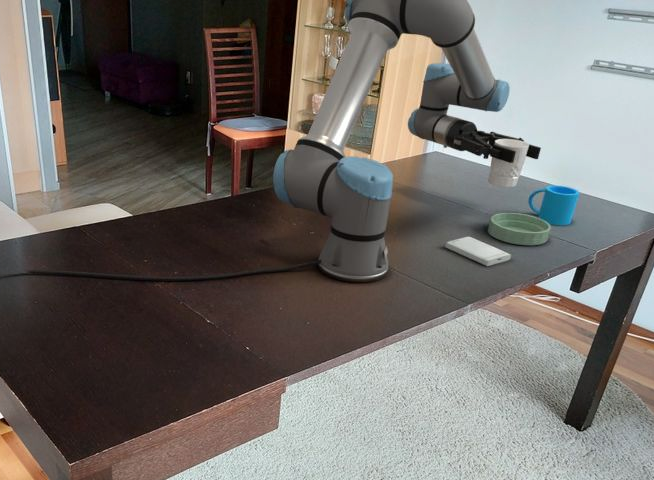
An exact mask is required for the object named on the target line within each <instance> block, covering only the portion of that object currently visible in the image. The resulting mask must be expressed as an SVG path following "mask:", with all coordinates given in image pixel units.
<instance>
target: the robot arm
mask: <svg viewBox="0 0 654 480" xmlns="http://www.w3.org/2000/svg"><path fill="white" fill-rule="evenodd" d="M346 4H347V6H346V7H345V17H346V21H347V30H348V33H349V35H350V36H349V38H348V41H347V43H346V45H345V48H344V50H343V52H342V55H341V57H340V59H339V61H338V64H337V66H336V69H335V70H334V73H333V75H332V77H331V80H330V82H329V85H328V87H327V89H326V92H325V94H324V96H323V99H322V100H321V103H320V106H319V108H318V110H317V111H316V112H317V113H316V115H315V117H314V119H313V122H312V124H311V127H310V129H309V131H308V133H307V135H304V136H302V137H300V138H298V139H297V141H296V144H295V146H294V148H293V149H286V150H285V151H283V152H282V153H281V154H280V155H279V156H278V158H277V160H276V162H275V165H274V169H273V175H272V178H273V179H272V183H273V190H274V192H275V196H276V197H277V198H278V199H279V201H280V202H282V203H284V204H286V205H289V206H291V207H292V208H295V209H301V210H305V211H308V212H312V213H316V214H319V215H322V216H326V217H329V218H331V222H330V224H331V225H330V231H329V234H328V236H327V239H326V241H325V242H324V245H323V247H322V249H321V252H320V253H319V257H318V260H313V261H308V262H302V263H299V264H294V265H290V266H284V267H273V268H259V269H251V270H244V271H238V272H230V273H221V274H212V275H211V274H210V275H196V276H195V275H191V276H149V275H148V276H147V275H129V274H128V275H127V274H114V273H101V272H90V271H89V272H88V271H87V272H86V271H75V270H72V271H71V270H49V269H48V270H46V269H25V270H26V271H27V270H28V271H29V272H30V273H33V275H34V274H37V275H38V274H40V275H43V274H44V275H65V276H67V275H68V276H80V277H81V276H83V277H94V278H95V277H97V278H110V279H125V280H139V281H168V282H169V281H176V282H177V281H178V282H179V281H201V280H214V279H224V278H233V277H239V276H240V277H241V276H246V275H253V274H260V273H261V274H264V273H278V272H286V271H287V272H288V271H292V270H296V269H300V268H305V267H309V266H315V265H317V266H318V269H319V270H320V271H321V273H323V274H324V275H325V276H328V277H330V278H332V279H335V280H337V281H338V280H339V281H343V282H347V283H348V282H349V283H371V282H376V281H379V280H382V279H383V278H385V277H386V276H387V274H388V270H389V257H388V253H389V251H388V245H386V241H385V236H386V230H387V224H388V223H387V222H388V217H389V212H390V206H391V199H392V196H393V184H394V176H393V172H392V171H391V169H390V168H389V167H388V166H386V165H385V164H384V163H382V162H380V161H378V160H375V159H371V158H369V157H360V156H355V155H354V156H346V154H345V151H344V150H345V147H346V145H347V143H348V141H349V138H350V136H351V134H352V131H353V129H354V127H355V125H356V122H357V120H358V117H359V116H360V113H361V111H362V109H363V106H364V104H365V101H366V99H367V97H368V95H369V93H370V90H371V88H372V85H373V83H374V81H375V79H376V76H377V74H378V72H379V69H380V67H381V64H382V63H383V61H384V58H385V55H386V53H387V52H388V51H390V50H392V49H394V48H395V47H397V45H398V43H399V40H400V39H401V36H402V35H403V34H404V35H416V36H422V37H426V38H428V39H430V40H431V42H432V44H433V45H435V46H436V47H438V48H440V49H441V51H442V52H443V54H444V56H445V57H446V60H447V62H448V63H445V62H434V63H430V64H428V65H427V66H426V69H425V73H424V78H423V80H422V91H421V95H420V102H419V106H418V107H417V108H416V109H414V110H413V111H412V112H410V113H411V114H410V116H409V118H408V120H407V129H408V131H409V132H410V134H411V135H413V136H415V137H418V138H419V139H421V140H426V141H429V142H433V143H435V144H438V145H441V146H443V149H446V148H450V149H452V150H456V151H458V152H465V151H466V152H468V153H470V154H472V155H475V156H477V157H481V156H483V157H482V158H483V159H484V160H489V157H491V158H492V157H494V158H497V159H500V160H503V161H506V162H509V163H513V162H514V158H515V153H516V151H513V150H510V149H507V148H504V147H500V146H497V145H494V144H495V140H498V139H513V140H519V141H523V142H525V140H524V139H523V138H522V137H519V138H517V137H514V136H510V135H504V134H501V133H497V132H495V131H489V132H485V131H484V130H478V127H477V125H476V124H475V123H474V122H473V121H470V120H466V119H462V118H459V117H457V116H452V115H449V114H448V111H449V106H456V107H462V108H468V109H474V110H479V111H483V112H494V113H499V112H501V111H502V110H503V109H504V107H505V106H506V104H507V102H508V99H509V96H510V89H511V88H510V84H509V82H507V81H506V80H501V79H496V78H495V76H494V74H493V72H492V69H491V67H490V65H489V61H488V59H487V57H486V55H485V53H484V52H485V51H484V50H483V47H482V45H481V42H480V40H479V38H478V37H479V36H478V35H477V32H476V30H475V26H476V17H475V14H474V11H473V8H472V6H471V5H470V3H469V1H468V0H346ZM528 144H529V148H528V151H527V155H526V158H529V159H533V160H539V157H540V154H541V150H542V147H540V146H537V145H534V144H531V143H528ZM30 270H31V271H30ZM28 271H27V272H28ZM29 272H28V273H29Z"/></svg>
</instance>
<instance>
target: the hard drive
mask: <svg viewBox="0 0 654 480" xmlns="http://www.w3.org/2000/svg"><path fill="white" fill-rule="evenodd" d="M445 248H446V249H448V250H450V251H452V252H455V253H457V254H459V255H461V256H463V257H466V258H468V259H469V260H472V261H475V262H477V263H479V264H481V265H483V266H485V267H489V266H494V265H498V264H501V263H504V262H508V261H510V260H511V258H512V254H510V253H508V252H506V251H504V250H501V249H500V248H497V247H496V246H495V247H494V246H492V245H491V244H487V243H485V242H482V241H481V240H479V239H476V238H474V237H471V236H465V237H461V238H457V239H453V240H449V241H447V242H445Z"/></svg>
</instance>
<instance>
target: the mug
mask: <svg viewBox="0 0 654 480" xmlns="http://www.w3.org/2000/svg"><path fill="white" fill-rule="evenodd" d="M543 192H544V194H543V196H542V201H541V205H540V208H539V210H538V209H537V208H536V207H535V206H534V203H533V199H534V197H535V196H536V195H537V194H540V193H543ZM580 194H581V193H580V190H578V189H575V188H574V187H570V186H565V185H555V184H553V185H547V186H546V187H545V188H540V189H537V190H534V191H533V192H532V193H531V194H530V195H529V197H528V206H529V208H530V209H531V211H533V212H534V213H535V214H537V218H540V219H542V220H544V221H546V222H548V223H549V224H550V225H553V226H568V225H570V224H571V223H572V219H573V216H574V212H575V210H576V207H577V203H578V199H579V196H580Z"/></svg>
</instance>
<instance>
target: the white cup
mask: <svg viewBox="0 0 654 480" xmlns="http://www.w3.org/2000/svg"><path fill="white" fill-rule="evenodd" d="M529 144H530V143H528V142H526V141H524V142H523V141H519V140H513V139H498V140H495V144H494V145H497V146H500V147H504V148H507V149H510V150H513V151H516V153H515V158H514V162H513V163H509V162H506V161H503V160H500V159H497V158H494V157H491V160H490V167H489V175H488V178H487V182H488V183H489V184H490V185H492V186H495V187H500V188H513V187H514V188H515V187H516V186H517V185H518V181H519V178H520V176H521V173H522V170H523V167H524V164H525V161H526V158H527V156H526V155H527V151H528V148H529Z"/></svg>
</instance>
